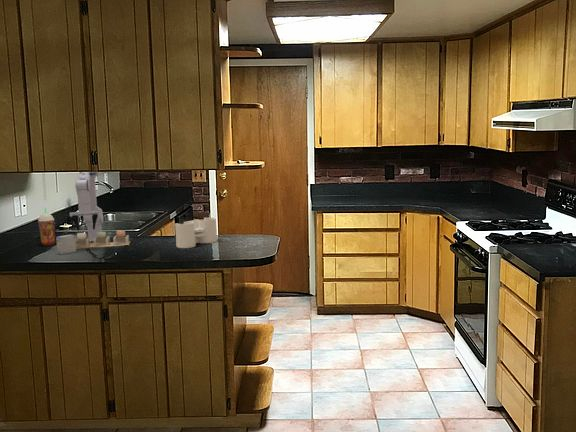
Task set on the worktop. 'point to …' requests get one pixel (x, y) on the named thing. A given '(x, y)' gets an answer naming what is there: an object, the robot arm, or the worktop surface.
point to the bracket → (196, 232)
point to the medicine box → (66, 244)
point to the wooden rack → (102, 242)
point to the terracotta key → (120, 234)
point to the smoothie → (47, 228)
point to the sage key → (101, 235)
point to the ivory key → (81, 236)
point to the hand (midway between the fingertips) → (86, 229)
